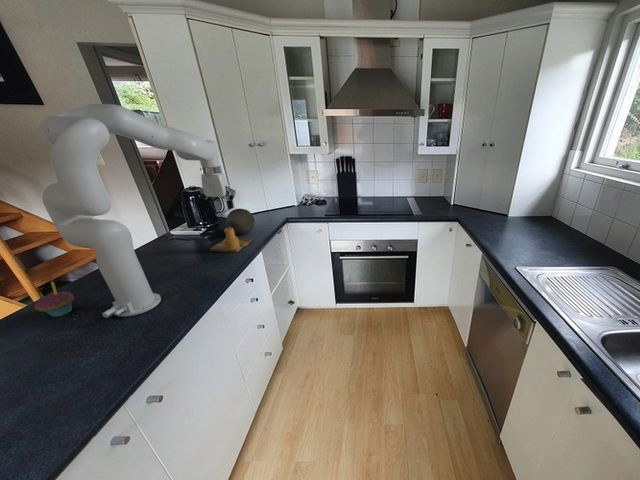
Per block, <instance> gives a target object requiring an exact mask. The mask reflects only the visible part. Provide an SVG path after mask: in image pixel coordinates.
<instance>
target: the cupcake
mask: <svg viewBox="0 0 640 480" xmlns="http://www.w3.org/2000/svg"><path fill="white" fill-rule="evenodd" d="M50 285H51V288H52V292H51V293H50V294H47V295H48V296H47V295H44V296H42V297H40V298H39V299H38V300H37V301H36V302H35V304H34V308H35V310H36V311H39V312H44V313H47V314H48V315H49V316H51V317H54V318H55V317H61V316H64V315H67V314H69V313H70V312H72V310H73V305H72V304H73V302H74V300H75V297H74V294H73V293H71V292H67V291H57V288H56V284H55V282H54V280H53V279H51V282H50Z"/></svg>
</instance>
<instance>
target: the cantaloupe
mask: <svg viewBox="0 0 640 480" xmlns="http://www.w3.org/2000/svg"><path fill="white" fill-rule="evenodd" d="M255 223H256V219H255V216H254V215H253V213H251V212H250V211H249V209H245V208H234V209H231V210H230V212H228V214H227V216H226V224H227V227H230V228H233V229H234V233H235V235H240V236H245V235H247V234H249V233H250V232H252V231H253V229H254V227H255Z"/></svg>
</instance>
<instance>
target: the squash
mask: <svg viewBox="0 0 640 480" xmlns="http://www.w3.org/2000/svg"><path fill="white" fill-rule="evenodd" d="M223 231H224V234H225V237H224V238H223V240H225V244H226V248H227V249H228V250H234V249H238V248H239V247H240V244H239V240H238V239H239V237H238V236H236V233H234V229H233V228H230V227H229V226H227V227H225V228H224V229H223Z"/></svg>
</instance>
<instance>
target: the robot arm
mask: <svg viewBox="0 0 640 480" xmlns="http://www.w3.org/2000/svg"><path fill="white" fill-rule="evenodd" d="M39 132H40V134H41V136H42V137H43V139H45V140H46V142H48V143H49V144H51V145H52V146H51V149H50V152H49V153H50V154H49V162H50V165H51V168H52V170H53V173H54V175H55V178H56V180H57V182H52V183H50V184H48V185H47V186H46V187H45V188H44V190H43V192H42V196H41V197H42V204H43V206H44V207H45V208H44V209H45V210H46V212H47V213H48V215H49V217H50V220H51V221H52V223H53V225H54V226H55V228H56V230H57V232H58V234H59V235H60V237H61V238H62V239H63V240H64V241H65V242H66V243H67V244H69V245H70V246H73V247H77V248H82V249H90V250H94V252H95V262H96V266H97V269H98V270H99V272H100V274H101V275H102V278H103V279H104V281H105V283H106V286H107V287H108V289H109V291H110V293H111V295H112V297H113V299H114V300H115V301H112V306H111V307H110V309H107V310H106V311H104V312H102V313H101V316H102V317H104V318H105V319H108V318H109V317H111V316H112V315H115V316H117V317H123V318H125V317H126V318H127V317H133V316H138V315H141V314H144V313H146V312H148V311H151V310H152V309H154V308H155V307H158V305H159V304H160V303H161V301H162V296H161V295H160V294H158V293H155V292H153V290H152V287H151V286H150V284H149V281H148V278H147V276H146V274H145V272H144V269H143V267H142V265H141V263H140V261H139V259H138V256H137V254H136V252H135V251H136V250H135V247H134V244H133V243H134V242H133V237H132V234H131V231H130V229H129V228H128V227H127V226H126V225H124V224H123V223H121V222H120V221H116V220H114V219H108V218H107V219H106V218H98V217H100V216H104V215H106V214H108V213H109V212H110V211H111V209H112V201H111V199H110V198H111V197H110V196H109V193H108V192H107V189H106V186H105V184H104V182H103V179H102V177H101V175H100V171H99V169H98V164H97V159H98V156H99V154H100V152H101V151H102V150H103V149H104V148H105V147H106V146H107V145H108V144H109V142H110V137H111V136H110V135H118V136H122V137H125V138H128V139H129V140H132V141H133V140H134V141H136V142H137V143H141V144H144V145H146V146H149V147H151V148H155V149H160V150H164V151H165V150H166V151H174V153H175V154H176V155H177V156H178V157H179V158H180V159H182V160H185V161H199V164H200V168H199V170H200V171H201V172H202V173H201V175H200V177H201V179H200V180H201V188H200V189H199V190H198V192H199V193H200V194H201V196H202V197H203V198H204V200H205V201H206V203H207V206H208V209H213V208H216V207H215V201H214V198H224V199H225V200H226V206H227V209H228V210H229V211H231V210H234V209H235V208H234V207H235V206H234V202H233V200H234V198H235V197H236V193H237V192H236V190H234V189H232V188H231V187H230V185H229V183H228V181H227V178H226V176H225V173H223V170H222V165H221V161H220V160H221V159H220V156H219V153H218V148H217V145H216V142H215V141H214V140H209V139H203V138H202V137H199V136H197V135H195V134H192V133H191V132H188V131H184V130H181V129H178V128H174V127H172V126H168V125H165V124H162V123H160V122H157V121H155V120H152V119H150V118H148V117H147V116H144V115H142V114H140V113H138V112H136V111H133V110H132V109H129V108H127V107H125V106H122V105H119V104H115V103H91V104H86V105H82V106H79V107H76V108H73V109H72V108H71V109H69V110H66V111H62V112H59V113H55V114H51V115H49V116H46V117H45V118H43V119H42V120H41V122H40V124H39ZM96 217H97V218H96Z"/></svg>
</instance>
